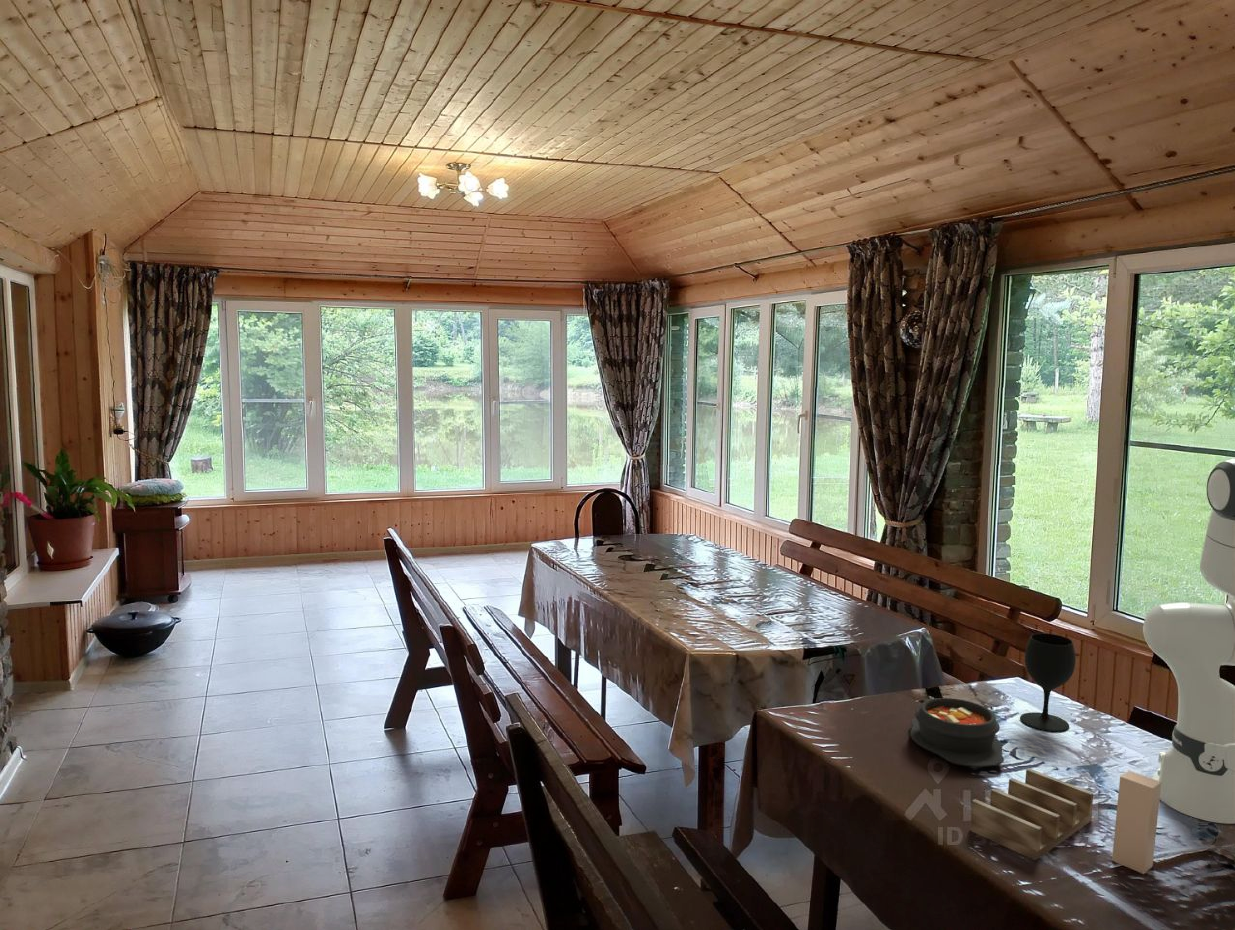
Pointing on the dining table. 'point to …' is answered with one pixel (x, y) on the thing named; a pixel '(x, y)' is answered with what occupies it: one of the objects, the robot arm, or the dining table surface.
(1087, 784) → the dining table surface
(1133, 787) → the beige rectangular block
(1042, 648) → the wine glass
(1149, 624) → the robot arm
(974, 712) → the casserole
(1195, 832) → the dining table surface
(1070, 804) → the drying rack
